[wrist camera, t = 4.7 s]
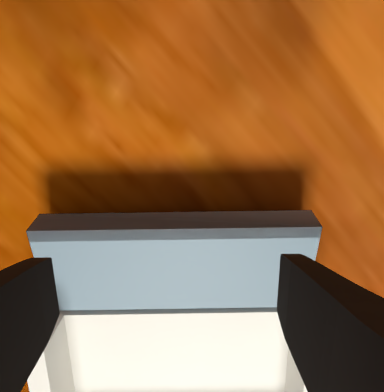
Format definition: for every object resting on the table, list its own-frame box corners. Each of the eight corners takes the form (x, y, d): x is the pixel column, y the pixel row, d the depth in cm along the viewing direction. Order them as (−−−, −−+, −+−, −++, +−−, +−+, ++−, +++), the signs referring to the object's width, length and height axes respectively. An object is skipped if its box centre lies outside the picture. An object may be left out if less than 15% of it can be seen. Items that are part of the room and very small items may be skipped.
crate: (73, 415, 21) (48, 486, 17) (56, 298, 19) (21, 350, 15) (289, 411, 21) (312, 481, 17) (301, 295, 19) (330, 346, 15)
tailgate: (305, 306, 17) (322, 226, 15) (49, 310, 17) (26, 231, 15) (296, 286, 18) (311, 210, 16) (59, 289, 18) (39, 213, 16)
